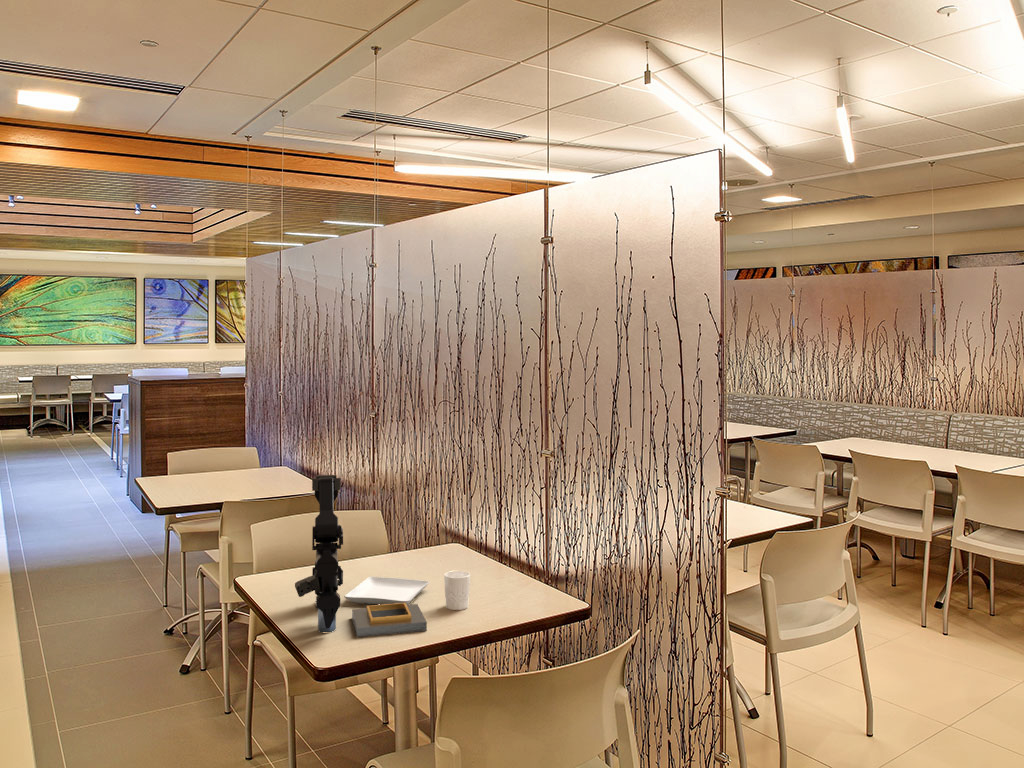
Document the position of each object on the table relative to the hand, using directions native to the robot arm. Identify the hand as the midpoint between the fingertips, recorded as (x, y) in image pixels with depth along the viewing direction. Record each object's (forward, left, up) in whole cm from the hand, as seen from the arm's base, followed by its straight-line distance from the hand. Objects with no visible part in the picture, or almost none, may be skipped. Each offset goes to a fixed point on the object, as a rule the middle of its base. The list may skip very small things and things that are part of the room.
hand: (326, 622), depth 214 cm
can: (0, 0, -2) cm, 2 cm away
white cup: (-10, +39, -2) cm, 40 cm away
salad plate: (-25, +20, -3) cm, 32 cm away
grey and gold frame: (0, +17, -2) cm, 17 cm away
